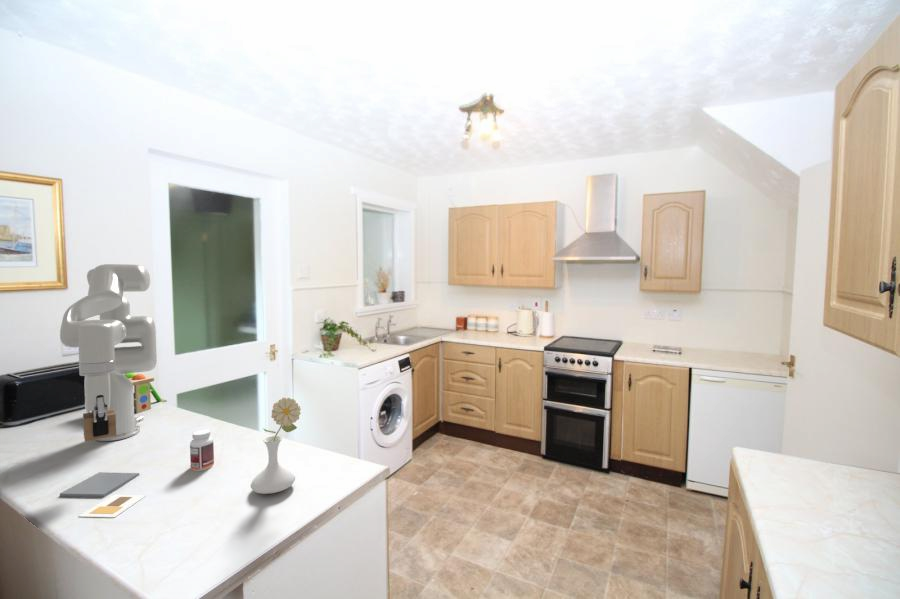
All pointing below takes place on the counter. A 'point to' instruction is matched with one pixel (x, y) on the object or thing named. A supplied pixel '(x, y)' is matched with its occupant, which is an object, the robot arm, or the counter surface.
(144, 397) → the pounding bench toy
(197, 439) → the pill bottle
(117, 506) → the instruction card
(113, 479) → the slate plate
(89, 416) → the walnut block
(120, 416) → the robot arm
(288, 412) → the flower in vase
